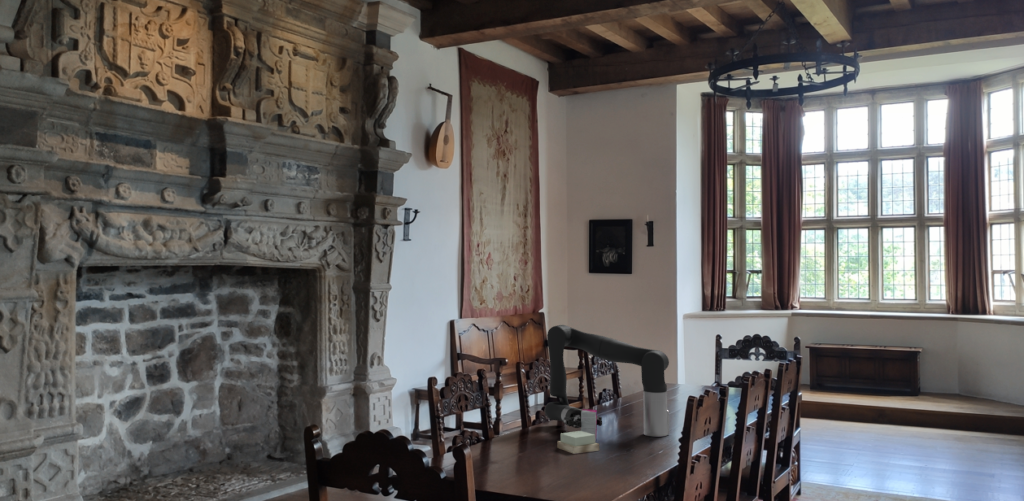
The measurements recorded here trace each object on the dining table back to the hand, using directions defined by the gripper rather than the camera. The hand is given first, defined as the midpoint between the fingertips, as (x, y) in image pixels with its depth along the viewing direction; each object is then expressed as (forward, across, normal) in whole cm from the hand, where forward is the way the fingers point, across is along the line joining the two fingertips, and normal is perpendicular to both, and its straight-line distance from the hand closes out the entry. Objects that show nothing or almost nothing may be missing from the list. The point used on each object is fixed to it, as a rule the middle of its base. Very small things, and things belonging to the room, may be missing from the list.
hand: (590, 423), depth 295 cm
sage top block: (+11, -10, +4) cm, 16 cm away
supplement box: (-2, 0, +7) cm, 7 cm away
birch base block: (+11, -10, +7) cm, 17 cm away
